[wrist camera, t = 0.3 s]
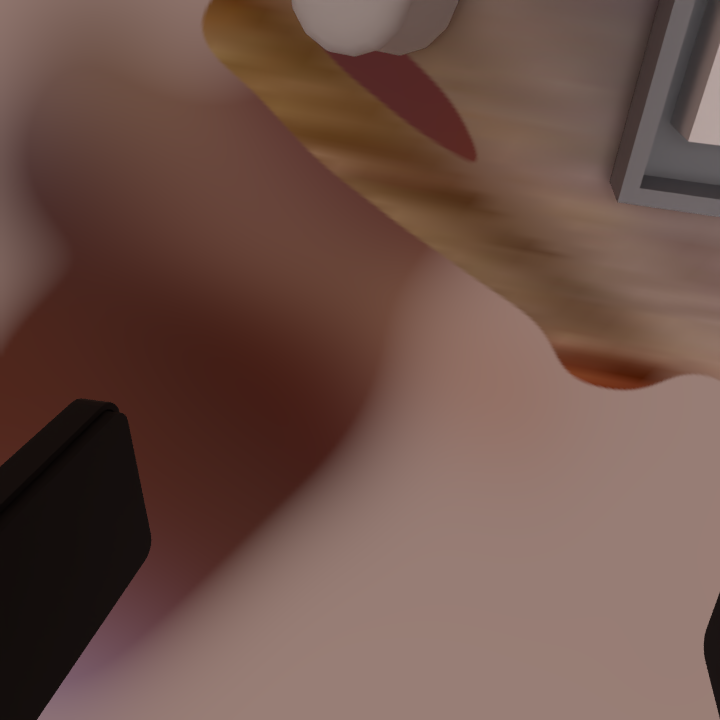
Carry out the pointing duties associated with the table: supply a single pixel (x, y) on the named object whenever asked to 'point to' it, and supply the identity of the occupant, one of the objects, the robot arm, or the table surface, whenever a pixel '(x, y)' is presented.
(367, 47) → the salt shaker
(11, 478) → the robot arm
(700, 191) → the socket box
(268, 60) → the table surface
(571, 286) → the table surface
